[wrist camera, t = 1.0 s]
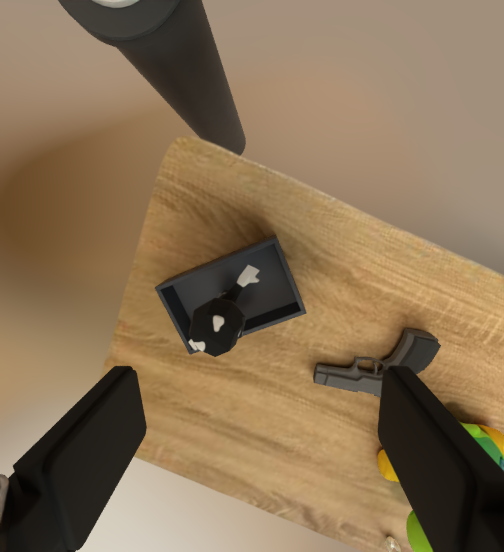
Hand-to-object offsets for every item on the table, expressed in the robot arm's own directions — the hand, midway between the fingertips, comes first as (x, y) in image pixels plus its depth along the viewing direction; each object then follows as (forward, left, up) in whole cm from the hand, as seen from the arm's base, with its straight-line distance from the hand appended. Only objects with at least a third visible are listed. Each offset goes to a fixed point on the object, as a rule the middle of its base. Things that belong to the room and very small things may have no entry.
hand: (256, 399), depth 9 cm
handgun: (+21, +10, -29) cm, 37 cm away
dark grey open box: (+3, -6, -29) cm, 29 cm away
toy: (+3, -6, -28) cm, 29 cm away
